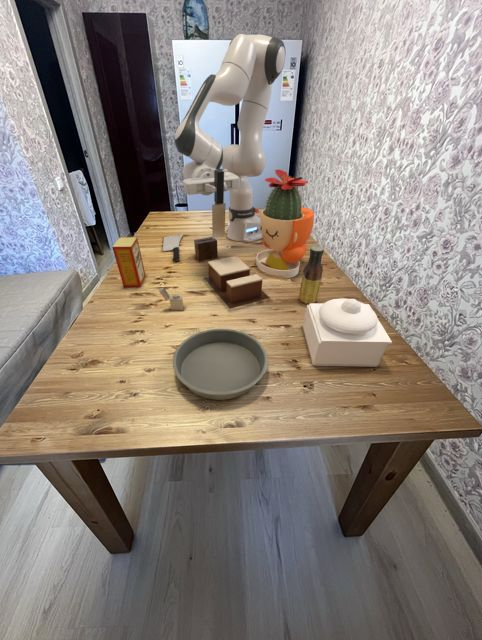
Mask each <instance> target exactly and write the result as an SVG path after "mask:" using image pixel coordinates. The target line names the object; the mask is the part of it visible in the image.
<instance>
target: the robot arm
mask: <svg viewBox="0 0 482 640" xmlns="http://www.w3.org/2000/svg"><path fill="white" fill-rule="evenodd" d="M285 63H286V47H285V43H284V41H283V40H282V39H281V38H279V37H276V36H269V35H265V34H259V33H257V34H245V33H239V34H237V35H235V36H234V37H232V39H231V40H230V42H229V45H228V48H227V50H226V52H225V54H224V56H223V59H222V61H221V65H220V67H219V70H218V71H217V72H216V73H215V74H210V75H208V76H207V77H206V78H205V80H204V81H203V83H202V84H201V86H200V88H199V90H198V92H197V93H196V95H195V97H194V99H193V101H192V103H191V104H190V106H189V109H188V110H187V112H186V114H185V115H184V117H183V119H182V121H181V122H180V124H179V126H178V127H177V129H176V131H175V133H174V138H173V141H174V145H175V147H176V149H177V152H179V153H180V154H182V155H184V156H185V157H188V158H189V159H191V160H192V161H189V162H187V163H185V165H184V166H183V169H182V178H183V180H182V182H180V183H179V187H180V188H183V192H184V193H185V194H186V195H189V196H192V195H203V196H210V195H212V194H214V193H215V192H217V187H216V186H214V170H220V169H221V170H222V171H224V192H227V191H228V192H229V207H228V219H229V221H228V224H227V225H228V231H227V234H226V238H228V239H229V240H231V241H236V242H245V243H252V242H255V241H259V240H261V239H263V237H262V233H261V230H260V220H261V217H260V216H258V215H256V214H259V212H260V209H259V208H257V207H254V206H253V199H254V197H253V195H254V190H253V187H252V185H251V184H250V182H249V178H255V177H259V176H260V175H262V173H264V170H265V168H266V164H267V159H266V155H265V153H264V150H263V131H264V127H265V124H266V123H265V122H266V118H267V115H268V112H269V106H270V103H271V95H272V89H273V84H274V82H275V81H276V80H277V79H278V77H279V76H280V75H281V73H282V72H283V69H284V67H285ZM209 103H216V104H219V105H222V106H226V107H232V106H236V105H238V104H239V103H241V106H240V111H239V115H238V121H237V129H238V130H239V133H240V143H239V144H237V143H236V144H234V143H232V144H228V145H225V146H224V147H223V146H222V144H220V142H218V140H216V139H215V138H214V137H212V136H210V135H209V134H208V133H206V132H205V131H204V130H203V129H202V128H201V127H200V126H199V122H200V120H201V118H202V117H203V114H204V112H205V111H206V109H207V107H208V105H209ZM221 167H222V168H221Z"/></svg>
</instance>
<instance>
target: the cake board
mask: <svg viewBox="0 0 482 640" xmlns="http://www.w3.org/2000/svg"><path fill="white" fill-rule="evenodd" d="M203 280H205V282H206V283H207V284H208V286H209V287H210V288H212V290H213V291H214V292H215V294H216V295H217V296H218V297H219V298H220V299H221V300H222V302H223V303H224V304H225V306H226V307H228V309H229V310H232V309H235V308H238V307H242V306H247V305H250V304H254V303H257V302H260V301H265V300H268V299H271V297H270V296H269V295H268V294H266V293H265V292H264V291H263V290H262V292H261V295H260V296H256V297H253V298H249V299H245V300H241V301H237V302H233V303H231V302H230V301H229V300H228V298H227V290H224V291H220V290H219V288H218V287H217V286H216V285H215V284H214V283H213V282H212V281H211V279H210V278H209V275H207V276H203Z"/></svg>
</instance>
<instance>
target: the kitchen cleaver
mask: <svg viewBox="0 0 482 640" xmlns="http://www.w3.org/2000/svg"><path fill="white" fill-rule="evenodd" d="M183 237H184V234H173V235H169V236H168V235H167V236H164V237H163V244H162V252H169V251H172V253H173V255H172V260H171V261H172V262H173V263H178V262H179V261H180V242H181V240H182V238H183Z"/></svg>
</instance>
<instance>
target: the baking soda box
mask: <svg viewBox="0 0 482 640" xmlns="http://www.w3.org/2000/svg"><path fill="white" fill-rule="evenodd" d="M111 249H112V251H113V254H114V258H115V262H116V265H117V269H118V272H119V276H120V279H121V283H122V286H123V288H141V287H142V285H143V282H144V280H145V278H146V276H147V275H146V271H145V266H144V262H143V257H142V253H141V248H140V244H139V239H138V236H123V237H122V236H120V237H119V238H118V239H117V240H116V241H115V243H114V244H113V245H112V247H111Z"/></svg>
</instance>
